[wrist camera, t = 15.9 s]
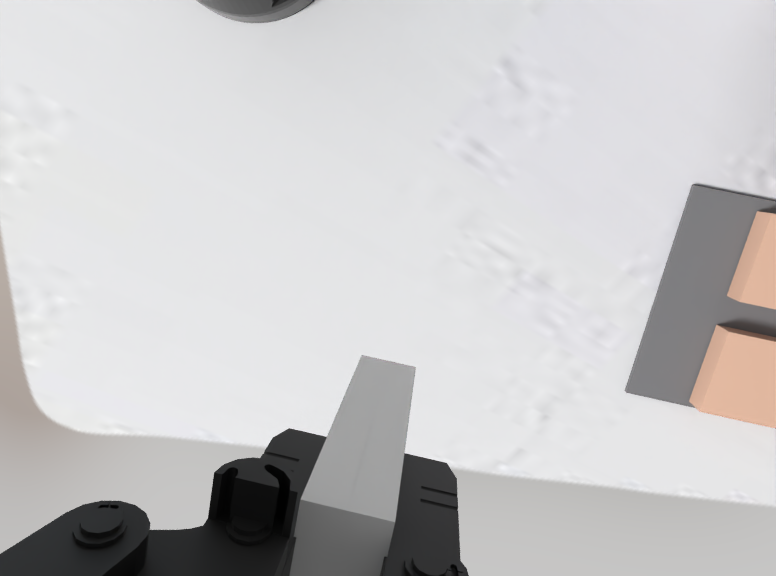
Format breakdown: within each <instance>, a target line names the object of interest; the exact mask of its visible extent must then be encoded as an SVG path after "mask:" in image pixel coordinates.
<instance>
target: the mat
mask: <svg viewBox="0 0 776 576" xmlns="http://www.w3.org/2000/svg"><path fill="white" fill-rule="evenodd" d="M757 211H759V212H766V213H773V214H776V201H771V200H766V199H761V198H756V197H751V196H746V195H741V194H736V193H731V192H726V191H721V190H716V189H711V188H706V187H701V186H696V185H692V187H691V190H690V193H689V196H688V199H687V202H686V205H685V208H684V211H683V214H682V218H681V221H680V224H679V227H678V230H677V233H676V236H675V239H674V242H673V245H672V248H671V251H670V254H669V257H668V260H667V263H666V266H665V269H664V273H663V276H662V279H661V282H660V285H659V288H658V291H657V294H656V297H655V300H654V303H653V306H652V309H651V312H650V315H649V318H648V321H647V325H646V328H645V331H644V334H643V337H642V340H641V343H640V346H639V349H638V352H637V355H636V358H635V361H634V364H633V367H632V370H631V373H630V377H629V380H628V383H627V386H626V389H625V391H626V393H631V394H635V395H640V396H644V397H649V398H653V399H658V400H662V401H667V402H671V403H676V404H680V405H685V406H689V407H694V406H693V405H692V404H691V403H690V402H689V400H690V397H691V394H692V391H693V389H694V386H695V383H696V380H697V377H698V375H699V372H700V369H701V366H702V363H703V361H704V358H705V355H706V352H707V350H708V347H709V344H710V341H711V338H712V336H713V333H714V330H715V327H716V325H720V326H725V327H730V328H734V329H739V330H744V331H748V332H753V333H758V334H762V335H767V336H772V337H776V309H771V308H766V307H761V306H757V305H752V304H747V303H743V302H739V301H737V300H734V299H732V298H730V297H728V296H727V294H728V291H729V288H730V285H731V282H732V280H733V277H734V274H735V271H736V268H737V266H738V263H739V260H740V257H741V255H742V252H743V249H744V246H745V243H746V241H747V238H748V235H749V232H750V229H751V227H752V224H753V221H754V218H755V216H756V213H757ZM694 408H695V407H694Z"/></svg>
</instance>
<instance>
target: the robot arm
mask: <svg viewBox="0 0 776 576" xmlns="http://www.w3.org/2000/svg"><path fill="white" fill-rule="evenodd" d="M197 1H198V2H199V3H201V4H202V5H204V6H205V7H207V8H208V9H210V10H212V11H213V12H215V13H217V14H219V15H221V16H223V17H226V18H229V19H232V20H236V21H240V22H246V23H265V22H272V21H276V20H280V19H283V18H286V17H288V16H290V15H293V14H295V13H296V12H298V11H300V10H301V9H303V8H304V7H306V6H307V5H308V4H310V3H311V2H312V1H313V0H197ZM415 369H416V367H413V366H408V365H404V364H399V363H395V362H390V361H386V360H381V359H377V358H372V357H368V356H364V355H362V356H361V358H360V361H359V363H358V365H357V368H356V370H355V372H354V375H353V377H352V379H351V382H350V384H349V386H348V389H347V391H346V393H345V396H344V398H343V401H342V403H341V405H340V408H339V410H338V412H337V415H336V417H335V419H334V422H333V424H332V426H331V429H330V431H329V433H328V436H327V437H324V436H320V435H316V434H311V433H307V432H303V431H298V430H294V429H290V428H289V429H287V430H286V431H284V432H282V433H280V434H279V435H277V436H275V437H273V439H272V440H271V442H270V443H269V445H268V447H267V448H266V450H265V452H264V454H263V455H262V456H261V458H246V459H237V460H235V461H232V462H229V463H227V464H224V465H223V466H221V467H220V468H219V469H218V470H217V471H216V472H215V473H214V479H213V487H212V493H211V501H210V508H209V515H208V519H207V521H206V523H205V524H204V525H203V526H200V527H196V528H192V529H183V530H150V522H149V519H148V517H147V515H146V513H145V512H144V511H143V510H141V509H140V508H138V507H137V506H136V505H133V504H129V503H126V502H122V501H99V502H94V503H89V504H85V505H82V506H80V507H77V508H75V509H73V510H71V511H69V512H67V513H65V514H63V515H62V516H60V517H59V518H57V519H55V520H54V521H52V522H51V523H49V524H47V525H46V526H44V527H43V528H41V529H39V530H38V531H36V532H35V533H33V534H32V535H30V536H28V537H27V538H25V539H23V540H22V541H20V542H19V543H17V544H16V545H14V546H13V547H11V548H9V549H7V550H6V551H4V552H3V553H1V554H0V576H469V575H468V572H467V569H466V567H465V566H464V565H463V564H462V562H461V561H460V543H459V523H458V522H459V521H458V511H457V509H458V498H457V478H456V477H455V475H454V474H453V472H452V471H451V469H450V468H449V466H448V464H447V463H444V462H440V461H435V460H431V459H427V458H423V457H418V456H414V455H410V454H405V453H404V452H405V445H406V437H407V429H408V422H409V414H410V407H411V399H412V392H413V384H414V377H415Z"/></svg>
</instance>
